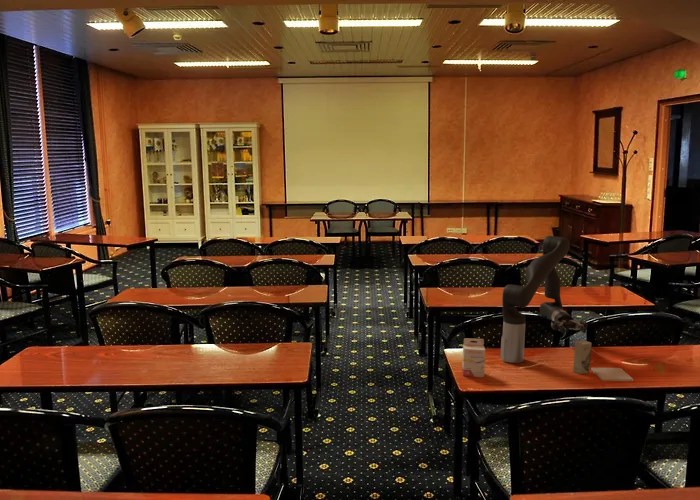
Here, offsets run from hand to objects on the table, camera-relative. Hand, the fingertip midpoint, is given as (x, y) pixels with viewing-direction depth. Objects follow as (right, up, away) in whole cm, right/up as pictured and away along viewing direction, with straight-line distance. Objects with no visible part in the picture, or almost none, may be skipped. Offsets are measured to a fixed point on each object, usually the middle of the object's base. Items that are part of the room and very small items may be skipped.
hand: (574, 330), depth 238 cm
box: (-1, -16, -9) cm, 18 cm away
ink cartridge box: (-46, -16, -11) cm, 50 cm away
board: (+10, -16, -13) cm, 23 cm away
